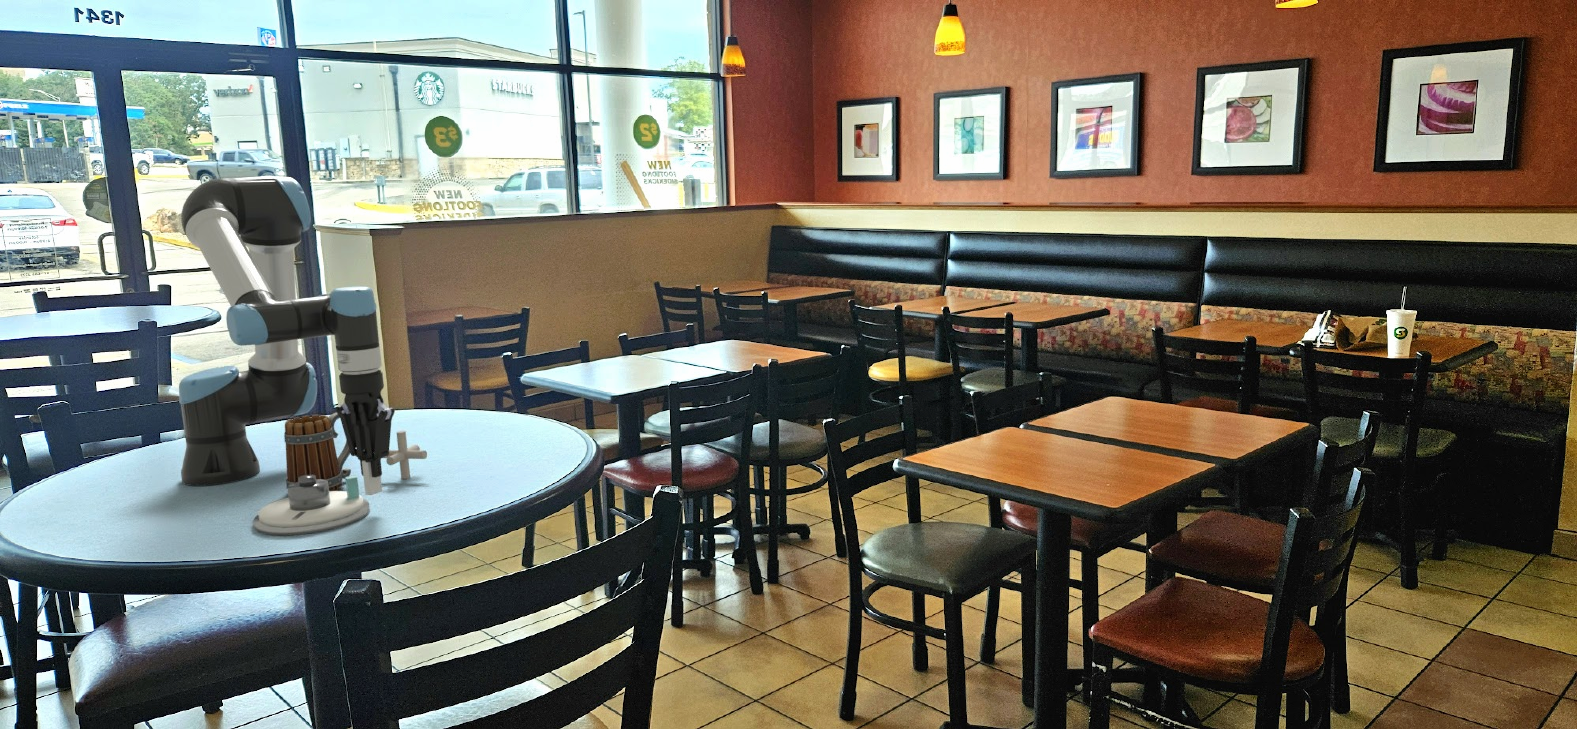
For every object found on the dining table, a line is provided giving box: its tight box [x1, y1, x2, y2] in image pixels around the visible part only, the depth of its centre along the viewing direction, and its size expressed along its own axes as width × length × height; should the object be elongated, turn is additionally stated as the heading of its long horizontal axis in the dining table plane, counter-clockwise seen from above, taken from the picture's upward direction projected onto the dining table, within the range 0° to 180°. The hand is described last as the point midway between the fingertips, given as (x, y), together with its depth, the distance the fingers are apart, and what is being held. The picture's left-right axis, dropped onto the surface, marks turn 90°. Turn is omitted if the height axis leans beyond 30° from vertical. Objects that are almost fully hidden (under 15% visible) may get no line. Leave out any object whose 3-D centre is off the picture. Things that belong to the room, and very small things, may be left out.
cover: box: [286, 475, 330, 511], centre depth 202 cm, size 7×7×6 cm
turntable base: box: [252, 498, 371, 537], centre depth 202 cm, size 20×20×1 cm
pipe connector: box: [382, 430, 428, 480], centre depth 227 cm, size 10×10×10 cm
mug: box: [283, 412, 352, 491], centre depth 222 cm, size 16×11×15 cm
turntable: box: [257, 475, 364, 527], centre depth 202 cm, size 18×18×5 cm
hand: (373, 492), depth 204 cm, fingers closed
